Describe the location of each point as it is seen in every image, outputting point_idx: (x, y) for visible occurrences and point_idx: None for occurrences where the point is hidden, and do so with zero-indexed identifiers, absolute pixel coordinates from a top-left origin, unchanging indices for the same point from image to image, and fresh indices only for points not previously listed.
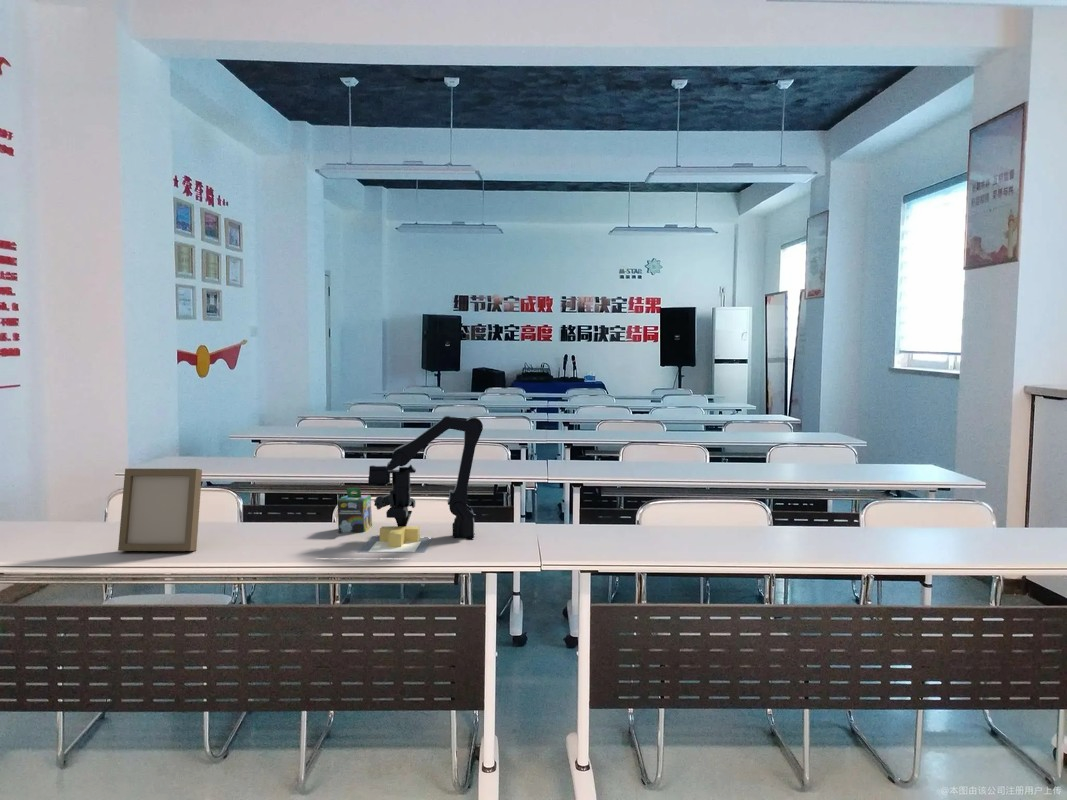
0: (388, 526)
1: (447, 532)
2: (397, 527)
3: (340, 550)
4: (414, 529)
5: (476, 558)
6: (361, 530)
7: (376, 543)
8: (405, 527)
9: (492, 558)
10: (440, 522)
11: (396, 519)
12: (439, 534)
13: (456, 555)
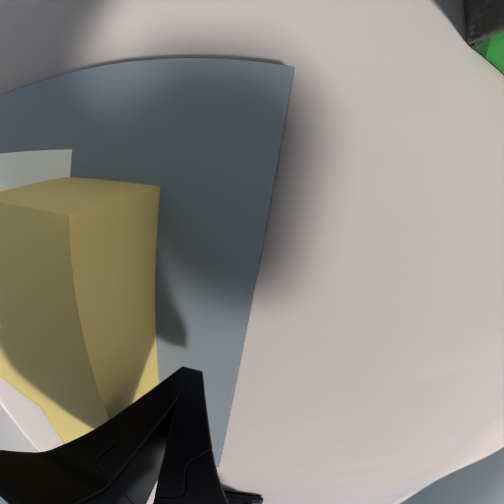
0: (73, 315)
1: (322, 486)
2: (60, 387)
3: (13, 14)
4: (63, 440)
5: (27, 427)
6: (478, 22)
7: (28, 161)
8: (83, 430)
9: (39, 443)
10: (486, 436)
11: (51, 455)
12: (294, 476)
13: (25, 413)
